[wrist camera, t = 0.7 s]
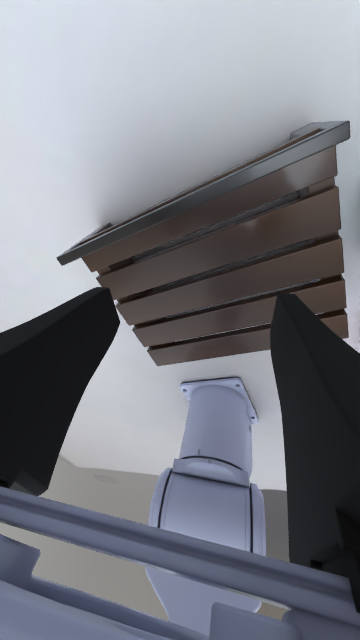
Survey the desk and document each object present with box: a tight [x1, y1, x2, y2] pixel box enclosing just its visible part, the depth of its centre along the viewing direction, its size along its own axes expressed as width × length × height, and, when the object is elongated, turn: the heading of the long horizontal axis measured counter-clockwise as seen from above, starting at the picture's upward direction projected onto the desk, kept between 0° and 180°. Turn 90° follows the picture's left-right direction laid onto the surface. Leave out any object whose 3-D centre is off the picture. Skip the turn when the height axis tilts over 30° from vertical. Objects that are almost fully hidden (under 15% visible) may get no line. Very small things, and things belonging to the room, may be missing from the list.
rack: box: [57, 121, 350, 366], centre depth 17 cm, size 13×16×6 cm
